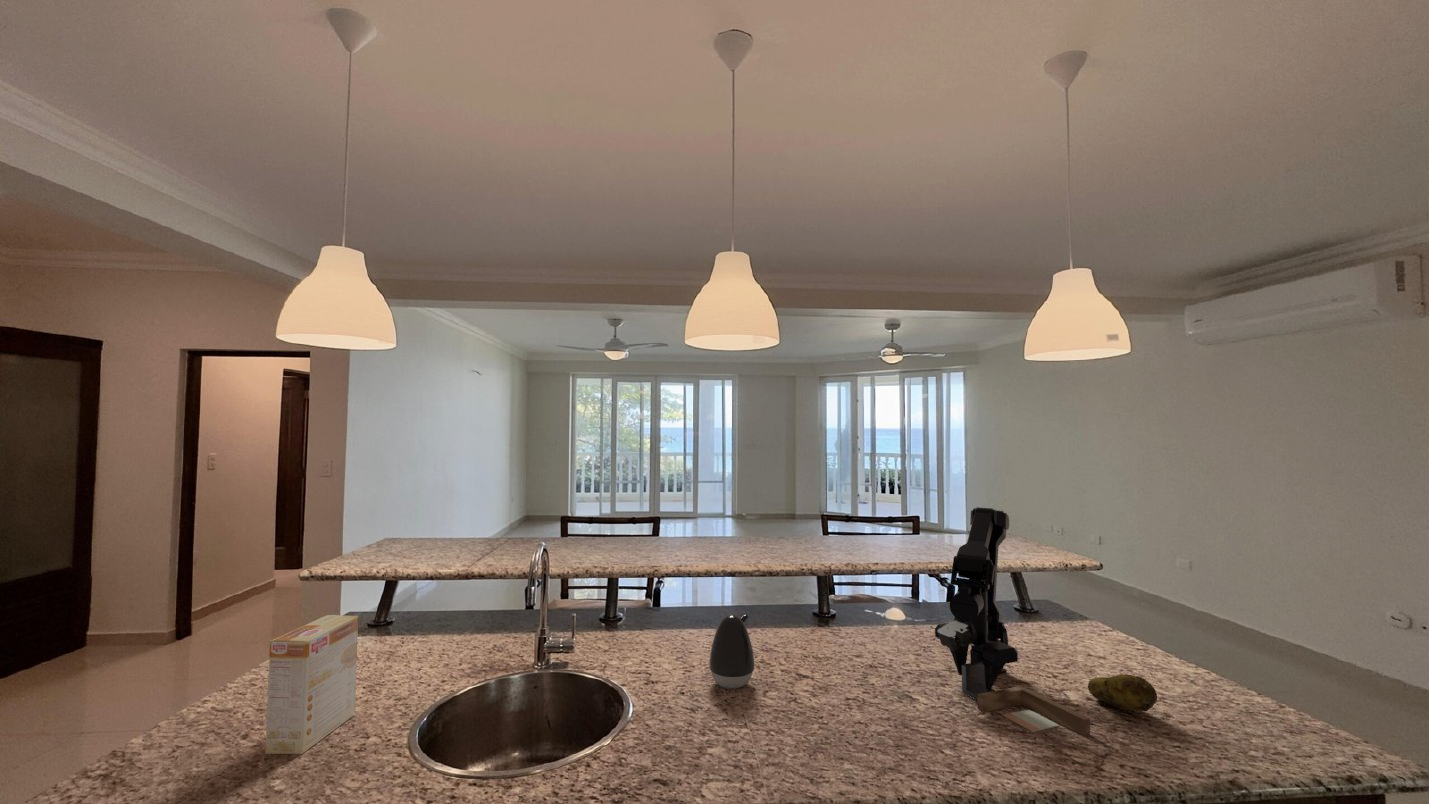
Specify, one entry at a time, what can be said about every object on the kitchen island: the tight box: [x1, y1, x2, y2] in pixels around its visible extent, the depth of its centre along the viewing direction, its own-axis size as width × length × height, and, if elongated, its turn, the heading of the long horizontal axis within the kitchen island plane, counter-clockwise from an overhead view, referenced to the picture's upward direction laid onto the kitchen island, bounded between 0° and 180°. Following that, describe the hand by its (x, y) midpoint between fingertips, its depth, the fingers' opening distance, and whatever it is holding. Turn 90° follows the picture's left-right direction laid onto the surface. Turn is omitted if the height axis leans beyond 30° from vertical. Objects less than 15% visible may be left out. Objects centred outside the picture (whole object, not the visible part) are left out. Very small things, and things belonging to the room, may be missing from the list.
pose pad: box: [1002, 708, 1060, 733], centre depth 117 cm, size 7×7×1 cm
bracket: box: [961, 662, 997, 702], centre depth 128 cm, size 6×6×6 cm
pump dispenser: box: [708, 614, 755, 690], centre depth 134 cm, size 10×10×15 cm
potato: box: [1087, 673, 1158, 712], centre depth 122 cm, size 8×13×8 cm, turn 0°
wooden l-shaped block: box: [976, 684, 1091, 737], centre depth 117 cm, size 12×16×3 cm
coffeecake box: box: [264, 614, 359, 755], centre depth 111 cm, size 15×7×20 cm, turn 178°
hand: (974, 681), depth 131 cm, fingers open, 8 cm apart
